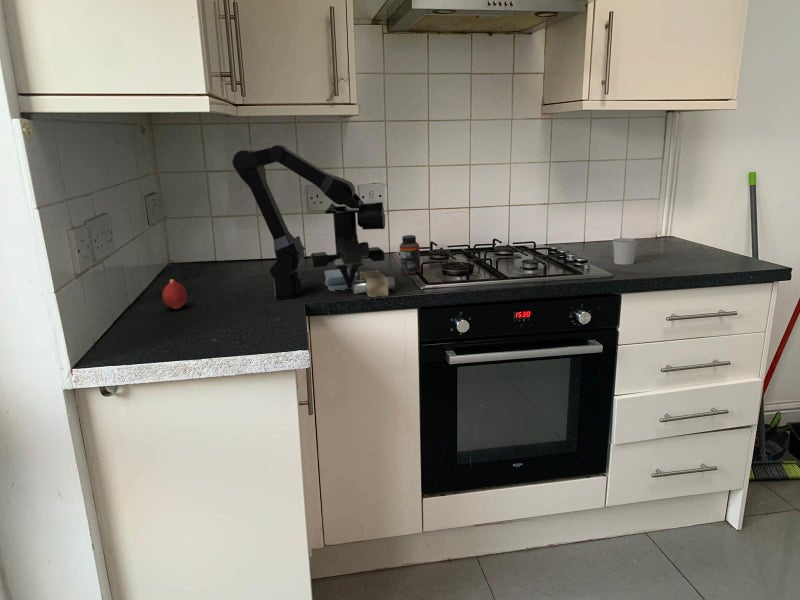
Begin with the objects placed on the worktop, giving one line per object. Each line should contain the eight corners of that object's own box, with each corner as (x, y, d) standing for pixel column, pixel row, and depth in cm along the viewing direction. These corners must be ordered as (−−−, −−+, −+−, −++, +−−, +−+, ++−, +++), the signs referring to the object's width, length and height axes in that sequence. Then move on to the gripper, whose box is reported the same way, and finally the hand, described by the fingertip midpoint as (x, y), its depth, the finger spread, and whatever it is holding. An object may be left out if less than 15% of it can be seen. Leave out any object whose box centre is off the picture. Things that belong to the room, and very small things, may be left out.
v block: (330, 291, 160) (329, 276, 159) (324, 284, 169) (323, 269, 168) (358, 288, 162) (357, 273, 161) (352, 281, 171) (351, 266, 170)
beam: (369, 297, 153) (368, 280, 151) (360, 288, 162) (359, 271, 161) (388, 295, 154) (387, 278, 153) (378, 286, 164) (377, 270, 162)
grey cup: (613, 265, 176) (615, 241, 175) (610, 260, 183) (611, 238, 181) (638, 264, 175) (639, 241, 173) (633, 260, 182) (634, 237, 180)
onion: (175, 305, 153) (171, 275, 151) (193, 307, 151) (189, 276, 149) (159, 312, 148) (154, 281, 146) (177, 313, 146) (173, 282, 144)
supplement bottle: (416, 270, 182) (414, 233, 178) (423, 273, 176) (422, 236, 173) (397, 272, 180) (396, 235, 176) (405, 276, 174) (403, 238, 171)
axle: (355, 293, 155) (353, 280, 155) (353, 294, 158) (351, 281, 158) (395, 289, 158) (394, 276, 158) (392, 290, 161) (391, 277, 161)
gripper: (313, 238, 142) (318, 300, 146) (388, 231, 147) (391, 292, 151) (307, 231, 152) (312, 290, 156) (377, 225, 157) (380, 282, 161)
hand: (349, 288), depth 156 cm, fingers closed
